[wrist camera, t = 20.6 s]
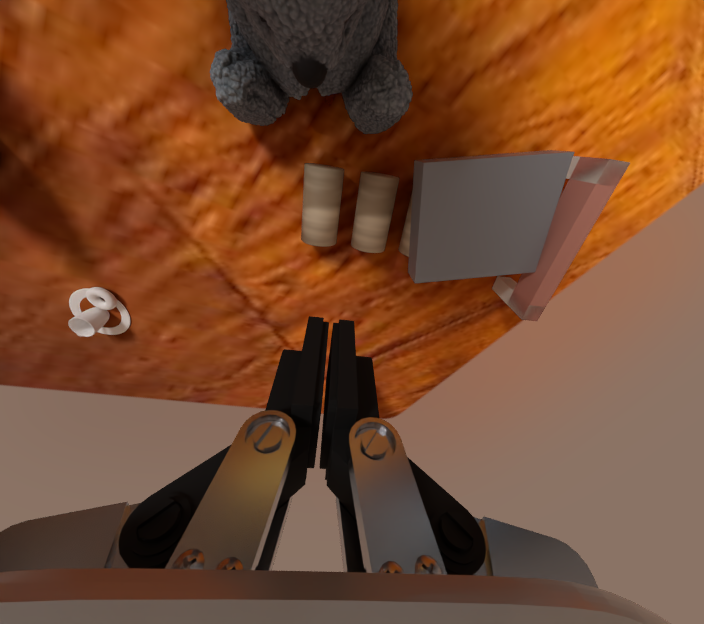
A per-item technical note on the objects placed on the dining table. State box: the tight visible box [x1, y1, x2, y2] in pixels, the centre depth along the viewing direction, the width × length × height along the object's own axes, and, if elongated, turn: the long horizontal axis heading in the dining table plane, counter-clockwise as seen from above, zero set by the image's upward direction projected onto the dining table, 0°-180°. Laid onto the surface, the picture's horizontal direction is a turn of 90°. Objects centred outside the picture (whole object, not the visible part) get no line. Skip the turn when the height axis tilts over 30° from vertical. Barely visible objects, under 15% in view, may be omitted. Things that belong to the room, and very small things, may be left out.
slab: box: [408, 150, 574, 283], centre depth 30 cm, size 12×14×3 cm
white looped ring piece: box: [69, 287, 131, 337], centre depth 39 cm, size 9×8×4 cm
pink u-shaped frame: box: [492, 156, 630, 321], centre depth 32 cm, size 17×2×8 cm, turn 172°
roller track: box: [301, 163, 413, 257], centre depth 33 cm, size 10×25×4 cm, turn 82°
